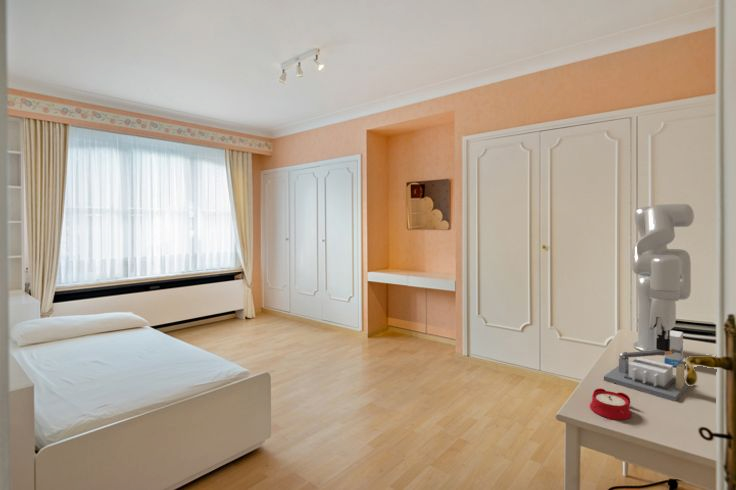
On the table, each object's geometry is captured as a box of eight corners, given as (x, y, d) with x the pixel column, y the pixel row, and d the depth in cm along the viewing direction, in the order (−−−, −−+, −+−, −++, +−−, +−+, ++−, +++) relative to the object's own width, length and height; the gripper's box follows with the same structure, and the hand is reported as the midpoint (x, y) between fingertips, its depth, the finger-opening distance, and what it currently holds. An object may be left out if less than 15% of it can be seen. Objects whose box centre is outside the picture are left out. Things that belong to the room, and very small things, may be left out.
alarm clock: (587, 404, 110) (592, 374, 122) (588, 422, 112) (592, 391, 124) (631, 414, 104) (632, 382, 116) (631, 432, 106) (631, 399, 118)
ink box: (680, 368, 140) (681, 337, 139) (663, 364, 144) (663, 334, 143) (683, 361, 146) (684, 331, 145) (666, 358, 150) (667, 329, 149)
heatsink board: (623, 366, 144) (623, 344, 143) (691, 384, 128) (692, 359, 127) (603, 380, 133) (604, 356, 132) (675, 401, 117) (676, 374, 116)
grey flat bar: (620, 359, 135) (618, 354, 135) (624, 356, 137) (622, 352, 137) (672, 355, 122) (670, 350, 123) (676, 352, 125) (674, 347, 125)
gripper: (657, 290, 132) (656, 342, 133) (642, 296, 123) (641, 351, 123) (685, 293, 126) (683, 348, 127) (671, 299, 117) (670, 358, 118)
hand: (662, 349), depth 125 cm, fingers closed
